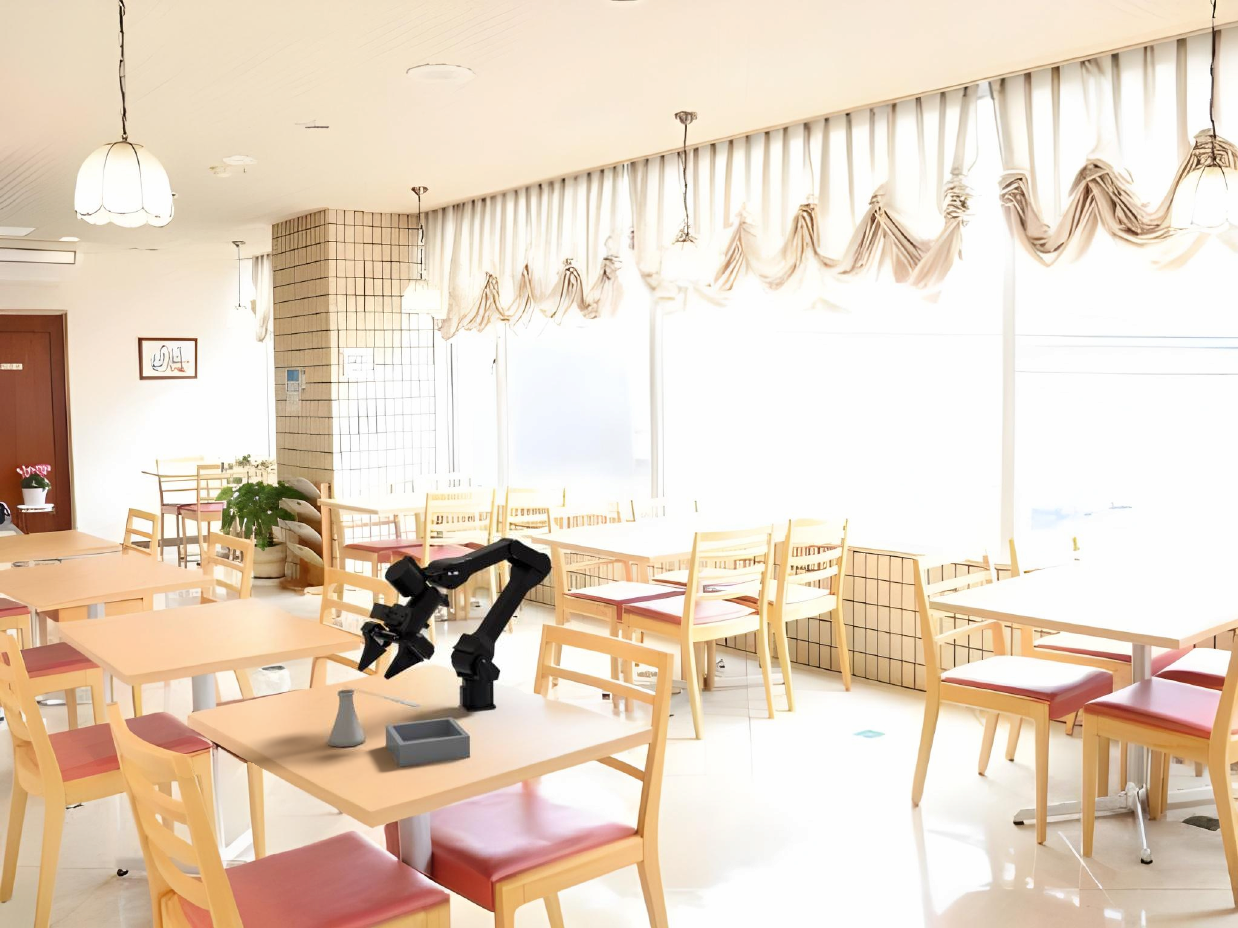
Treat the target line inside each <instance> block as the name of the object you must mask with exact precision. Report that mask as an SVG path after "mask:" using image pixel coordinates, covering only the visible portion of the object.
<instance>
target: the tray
mask: <svg viewBox="0 0 1238 928" xmlns="http://www.w3.org/2000/svg"><path fill="white" fill-rule="evenodd" d="M470 737H471V736H470V735H469V733H468V732H467V731H466V730H465V729H464V728H463V727H462V726H461V725H460V724H459V723H458V722H457V721H456V720H455V719H454V718H453V717H451V716H450V717H443V718H435V719H426V720H418V721H410V722H401V723H394V724H393V723H392V724H386V725H385V746H386V748H387V750H388V751H389V752H390V754H391V755H392V757H393V758H394V760H395V761H396V763H397V764H398V766H399V767H400V768H401V767H408V766H415V765H423V764H431V763H436V762H437V763H438V762H444V761H451V760H458V759H459V760H460V759H465V758H470V757H471V743H470V742H471V739H470Z"/></svg>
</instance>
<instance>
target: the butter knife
mask: <svg viewBox="0 0 1238 928" xmlns="http://www.w3.org/2000/svg"><path fill="white" fill-rule="evenodd" d="M379 696H381V697H380V698H382V697H384V698H383V699H387V700H389V699H391V700H390V701H393V702H395V701H396V703H398V702H400V703H399V704H402V705H406V706H410V707H415V708H417V707H419V706H421V704H420V703H418V702H416V701H415V702H414V701H410V700H406V699H401V698H396V697H390V696H387V695H383V694H380V695H379Z"/></svg>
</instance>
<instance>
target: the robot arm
mask: <svg viewBox="0 0 1238 928" xmlns="http://www.w3.org/2000/svg"><path fill="white" fill-rule="evenodd" d="M503 561H506V562H507V563H508V564H510V565H511V566H510V567H509V568H510V570H509V571H510V572H509V580H508V582H507V583H506V585H505V586H504V588H503V590H502V591H501V592H500V594H499V595H498V597H497V598H496V600H495V601H494V603H493V604H492V606H491V608H490V609H489V610H488V612H487V613H486V616H485V617H484V618H483V620H482V621H481V623H480V624H479V626H478V627H477V629H476V630H475V631H474V632H473V633H471V634H469V633H466V632H463V633H462V634H461V635H460V636H459V639H458V641H457V642H456V643H455V645H453V646H452V650H453V651H452V652H451V654H450V660H451V661H450V662H451V666H452V668H453V669H454V671H455V674H456V677H457V678H461V685H459V704H460V706H461V707H462V708H463V709H464V710H465V711H466V712H475V711H476V712H477V711H482V710H491V709H496V708H497V705H496V704H495V703H494V702H495V700H494V698H495V697H494V696H495V695H494V693H495V692H494V690H495V689H494V687H495V686H494V682H495V681H498V680H499V678H500V675H501V670H500V668H499V667H498V666H496V664H495V663H494V662H493V659H494V658H495V650H496V649H495V648H496V647H495V646H496V644H497V643H496V642H497V641H498V639H499V638H500V636H501V634H502V633H503V631H504V630H505V628H506V627H507V625H508V624H509V622H510V620H511V619H512V617H513V616H514V614H515V613H516V611H517V610H518V608H519V606H520V605H521V603H522V602H523V601H524V599H525V597H526V596H527V594H528V593H529V592H530V591H531V590H532V589H534V588H536V587H537V586H538V585H540V584H542V583H543V582H544V580H545V579H546V578H547V577H548V576H549V575H550V573H551V571H552V568H553V567H552V561H551V557H550V556H549V555H548V554H547V553H545V552H540V551H538V550H536V549H534V548H532V547H530V546H528V545H526V544H524V543H523V542H521V541H520V540H518V539H517V538H511V537H502V538H500V539H498V540H497V541H495V542H492V543H489V544H488V545H485V546H483V547H480V548H478V549H474V550H473V551H470V552H468V553H465V554H463V555H460V556H454V557H445V558H444V557H443V558H438V559H434V560H432V561H430V562H429V563H428V564H427V566H424V567H421V566H420V565H419V564H418V563H417V562H416V559H415V558H414V557H413V556H411V555H404V556H403V558H402V559H399V560H397V561H396V562H394V563H393V564H391V565H390V566H388V567H387V570H386V571H385V574H384V579H385V580H386V582H388V583H389V585H390V586H391V587H392V588H393V589H395V590H396V592H397V593H399V595H400V596H401V597H402V598H405V599H406V598H409V599H408V600H407V602H406V603H405V604H404V605H403V604H401V603H396V602H394V603H393V605H387V604H384V603H380V602H374V603H373V604H372V605H373V606H372V608H371V611H370V614H369V618H370V619H373V620H374V619H376V620H379V621H380V622H377V621H373V620H370V621H365V622H364V624H363V625H362V626H361V627H360V629H359V630H360V631H361V636H362V637H363V639H364V647H363V650H362V654H361V657H360V660H359V662H358V666H357V670H358V671H359V672H360V673H361V672H364V671H365V670H366V669H368V668H369V667H370V666H372V664H374V663H375V662H376V661H377V660H378V659H379V658H381V657H382V656H383V655H384V654H385V653H386V652H387V651H388V650H387V649H388V648H390V646H392V644H395V645H396V644H397V647H398V648H397V652H396V654H395V656H394V658H393V659H392V661H391V663H390V664H389V666H388V667H387V670H386V671H385V673H384V675H383V678H384V679H385V680H387V681H388V680H390V679H392V678H394V677H395V676H397V675H399V674H400V673H402V672H404V671H405V670H407V669H410V668H411V667H413V666H415V665H418V664H419V663H423V662H424V661H425V660H427V661H430V660H431V659H432V658H433V655H434V654H435V645H434V644H433V643H432V642H431V641H430V640H429V639H428V638H427V637H426V636H425V635H424V634H423V633H422V630H423V629H424V630H428V629H429V627H431V625H430V623H429V620H430V619H431V618H432V617H433V615H434V613H435V612H436V611H437V609H438V608H439V607H443V608H447V609H448V608H450V600H449V594H447V593H443V592H442V591H440V590H439V589H443V590H444V589H445V590H450V591H453V590H456V589H458V588H459V587H461V586H462V585H464V584H466V583H467V582H468V581H469V579H470V578H471V576H473V575H474V574H476V573H478V572H481V571H483V570H486V569H488V568H490V567H492V566H494V565H496V564H499V563H501V562H503ZM438 588H439V589H438ZM381 622H383V623H381Z"/></svg>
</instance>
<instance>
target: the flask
mask: <svg viewBox="0 0 1238 928" xmlns="http://www.w3.org/2000/svg"><path fill="white" fill-rule="evenodd" d="M354 695H355V689H341V690H339V691H337V696H338V699H339V701H338V702H339V703H338V710H337V714H336V716H335V719H334V723H333V726H332V730H331V732H330V736H329V739H328V744H327V745H328V746H333V747H339V748H340V747H342V748H344V747H355V746H358V745H360V744H362V743H364V742H365V743H366V736H365V732H364V731H363V730H364V729H363V728H362V726H361V723H360V721H359V717H358V716H357V713H356V708H355V704H354Z"/></svg>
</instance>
